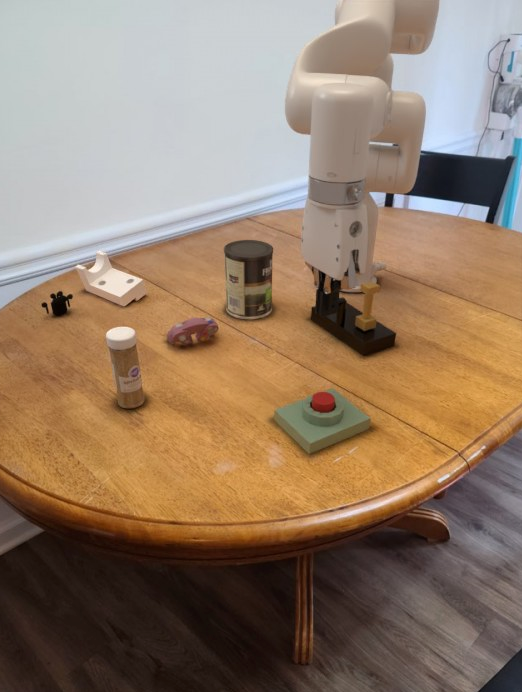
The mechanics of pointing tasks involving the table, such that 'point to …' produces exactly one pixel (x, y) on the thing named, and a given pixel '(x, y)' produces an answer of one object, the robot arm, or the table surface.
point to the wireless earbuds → (58, 303)
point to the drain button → (323, 402)
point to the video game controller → (192, 330)
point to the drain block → (321, 422)
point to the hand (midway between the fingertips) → (326, 312)
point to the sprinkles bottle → (125, 366)
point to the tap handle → (367, 307)
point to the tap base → (355, 330)
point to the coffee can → (248, 279)
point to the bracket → (111, 281)
